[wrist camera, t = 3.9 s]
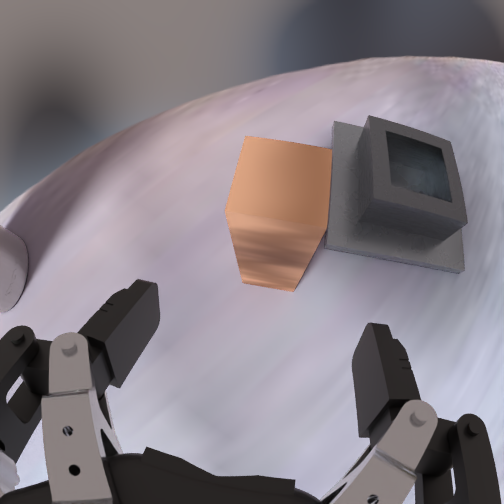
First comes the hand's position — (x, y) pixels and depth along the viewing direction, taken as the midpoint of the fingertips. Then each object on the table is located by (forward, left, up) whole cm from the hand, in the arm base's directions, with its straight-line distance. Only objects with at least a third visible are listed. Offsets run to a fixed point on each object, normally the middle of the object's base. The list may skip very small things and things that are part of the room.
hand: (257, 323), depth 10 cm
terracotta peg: (0, +6, -11) cm, 13 cm away
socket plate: (+11, +15, -11) cm, 22 cm away
